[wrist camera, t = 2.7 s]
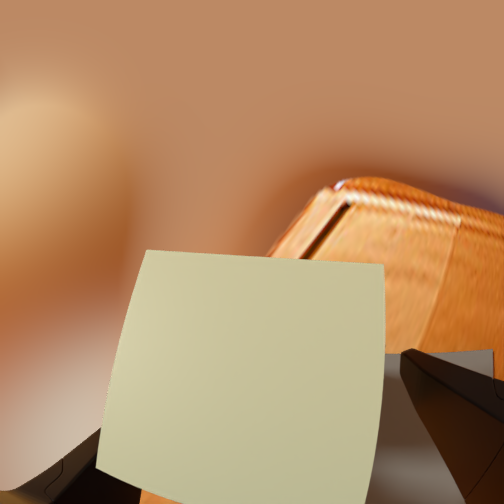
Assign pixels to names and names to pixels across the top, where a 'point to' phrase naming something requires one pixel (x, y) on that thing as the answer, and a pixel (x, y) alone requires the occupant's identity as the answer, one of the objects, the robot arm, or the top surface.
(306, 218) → the top surface
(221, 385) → the block
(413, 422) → the mat
